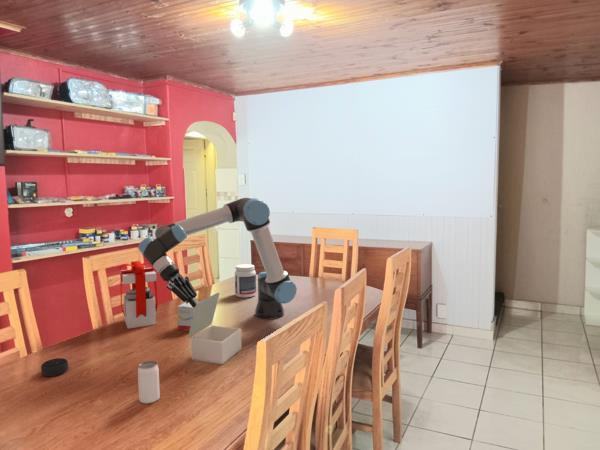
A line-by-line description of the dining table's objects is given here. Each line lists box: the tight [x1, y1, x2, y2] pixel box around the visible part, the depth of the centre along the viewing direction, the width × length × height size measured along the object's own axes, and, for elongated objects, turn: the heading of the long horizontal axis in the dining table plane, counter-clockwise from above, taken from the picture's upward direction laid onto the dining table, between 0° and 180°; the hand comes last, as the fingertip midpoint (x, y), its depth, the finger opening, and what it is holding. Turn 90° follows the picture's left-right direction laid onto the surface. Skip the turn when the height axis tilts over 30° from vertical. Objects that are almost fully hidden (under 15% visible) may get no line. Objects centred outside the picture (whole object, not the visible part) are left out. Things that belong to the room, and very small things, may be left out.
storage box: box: [190, 324, 242, 365], centre depth 183 cm, size 14×16×9 cm
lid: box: [187, 292, 220, 338], centre depth 184 cm, size 15×17×1 cm
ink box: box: [177, 302, 195, 332], centre depth 215 cm, size 9×9×12 cm
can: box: [137, 360, 161, 405], centre depth 147 cm, size 6×6×12 cm
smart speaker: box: [40, 357, 69, 377], centre depth 168 cm, size 9×9×4 cm
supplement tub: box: [234, 263, 257, 299], centre depth 272 cm, size 13×13×18 cm
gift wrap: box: [118, 260, 158, 329], centre depth 222 cm, size 17×17×30 cm
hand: (201, 311), depth 184 cm, fingers closed
